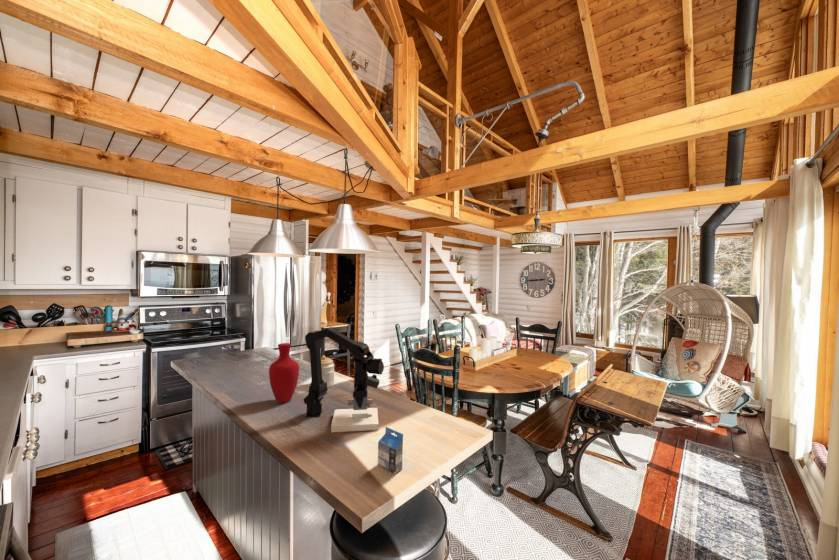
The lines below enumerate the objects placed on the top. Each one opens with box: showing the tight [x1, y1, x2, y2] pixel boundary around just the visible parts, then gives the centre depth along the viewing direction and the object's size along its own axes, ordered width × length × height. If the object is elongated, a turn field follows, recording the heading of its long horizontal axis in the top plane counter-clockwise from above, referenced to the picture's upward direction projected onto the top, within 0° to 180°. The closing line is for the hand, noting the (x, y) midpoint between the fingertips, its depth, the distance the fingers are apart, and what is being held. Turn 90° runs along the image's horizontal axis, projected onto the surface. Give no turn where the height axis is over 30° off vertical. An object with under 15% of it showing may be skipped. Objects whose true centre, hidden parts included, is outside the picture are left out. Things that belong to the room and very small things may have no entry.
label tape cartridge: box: [377, 426, 404, 475], centre depth 119 cm, size 9×4×12 cm, turn 50°
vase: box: [268, 342, 300, 404], centre depth 178 cm, size 15×15×30 cm
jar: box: [321, 355, 335, 388], centre depth 206 cm, size 13×13×18 cm
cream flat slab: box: [330, 407, 379, 433], centre depth 155 cm, size 20×18×3 cm
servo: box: [347, 396, 374, 410], centre depth 155 cm, size 11×4×6 cm, turn 99°
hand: (360, 405), depth 155 cm, fingers closed on servo, 4 cm apart
